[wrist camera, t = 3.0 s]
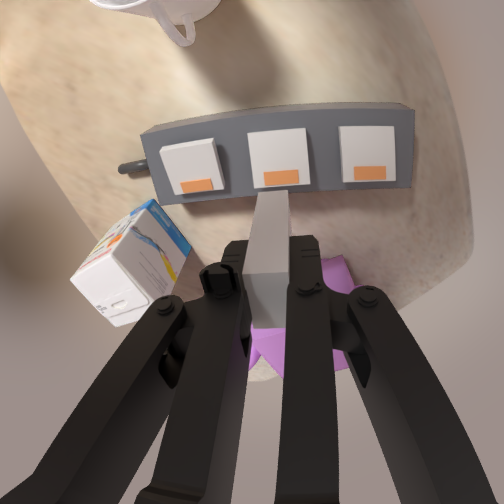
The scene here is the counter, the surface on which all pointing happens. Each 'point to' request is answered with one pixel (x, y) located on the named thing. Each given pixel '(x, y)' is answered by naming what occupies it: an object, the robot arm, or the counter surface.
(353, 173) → the rocker
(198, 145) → the rocker
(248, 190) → the power strip
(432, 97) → the counter surface
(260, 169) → the rocker
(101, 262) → the ink box
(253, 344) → the teapot
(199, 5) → the mug
